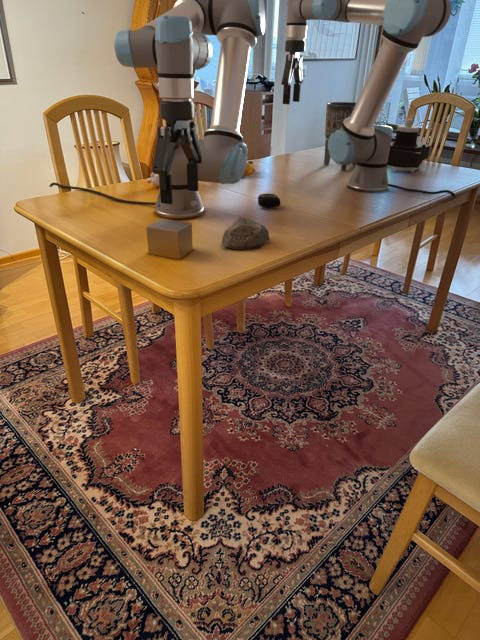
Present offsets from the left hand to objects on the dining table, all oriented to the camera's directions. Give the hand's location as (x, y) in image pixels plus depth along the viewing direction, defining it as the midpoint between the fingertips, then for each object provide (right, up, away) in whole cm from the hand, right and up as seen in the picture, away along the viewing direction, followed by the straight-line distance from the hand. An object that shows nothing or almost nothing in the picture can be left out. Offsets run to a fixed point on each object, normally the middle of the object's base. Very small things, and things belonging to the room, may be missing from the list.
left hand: (180, 196), depth 110 cm
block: (-3, -13, +6) cm, 14 cm away
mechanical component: (+91, +41, +101) cm, 142 cm away
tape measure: (+24, +7, +41) cm, 48 cm away
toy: (+16, +32, +82) cm, 90 cm away
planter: (+62, +41, +100) cm, 125 cm away
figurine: (-15, +21, +63) cm, 68 cm away
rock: (+17, -10, +11) cm, 22 cm away
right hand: (+35, +56, +69) cm, 95 cm away
